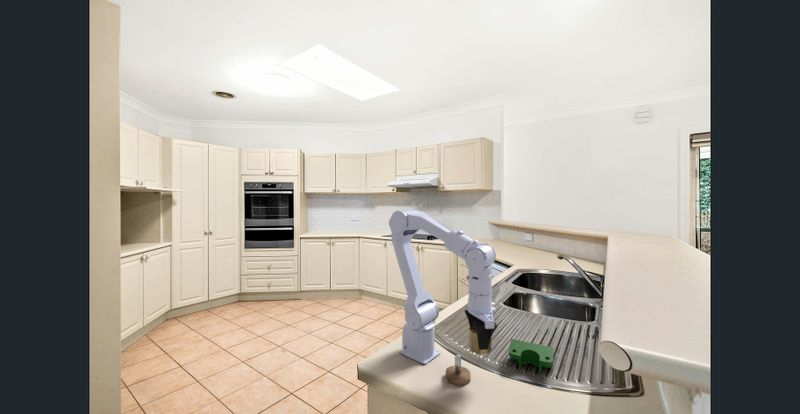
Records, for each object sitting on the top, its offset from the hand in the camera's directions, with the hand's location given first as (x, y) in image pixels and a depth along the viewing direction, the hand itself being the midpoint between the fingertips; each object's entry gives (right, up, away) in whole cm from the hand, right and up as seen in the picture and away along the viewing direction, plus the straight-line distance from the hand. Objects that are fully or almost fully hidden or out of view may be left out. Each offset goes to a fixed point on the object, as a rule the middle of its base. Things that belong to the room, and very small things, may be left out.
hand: (479, 343), depth 79 cm
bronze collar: (0, -2, 0) cm, 2 cm away
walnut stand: (-5, -10, +1) cm, 11 cm away
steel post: (-5, -8, +1) cm, 10 cm away
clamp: (+16, -10, +6) cm, 19 cm away
